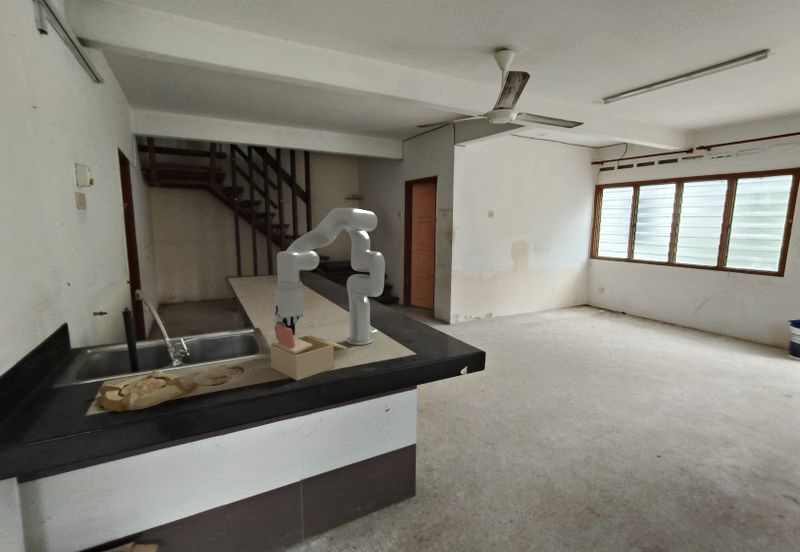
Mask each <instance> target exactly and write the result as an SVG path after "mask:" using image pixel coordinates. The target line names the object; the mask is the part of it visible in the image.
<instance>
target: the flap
mask: <svg viewBox="0 0 800 552" xmlns="http://www.w3.org/2000/svg"><path fill="white" fill-rule="evenodd" d="M275 324H276V323H275ZM275 324H274V329H275V328H276V333H277V337H276V339H274V340H271V341H270V343H271V344H274V345H276V346H278V347H281V348H283V349H285V350H288V351H290V352H293V353H295V354H296V353H298V352H301V351H303V350H305V349H307V348H310V347H312V344H311V343H308V342H305V341H303V340H300V339H297V338H298V337H295V336H294V335H293V332H292V329H290V328H287V327H284V326H282V325H279V324H276V325H275ZM276 333H275V334H276ZM277 338H278V339H277Z"/></svg>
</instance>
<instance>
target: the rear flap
mask: <svg viewBox="0 0 800 552" xmlns="http://www.w3.org/2000/svg"><path fill="white" fill-rule="evenodd" d="M308 336H309V337H311V338H314V339H317V340H320V341H323V342H326V343H328V344H331V345H333V346H334V347H335V348H340V349H344V350H348V347H347V346H344V345H342V344H338V343H336V342H333V341H330V340H327V339H324V338H321V337H316V336H313V335H308Z"/></svg>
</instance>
